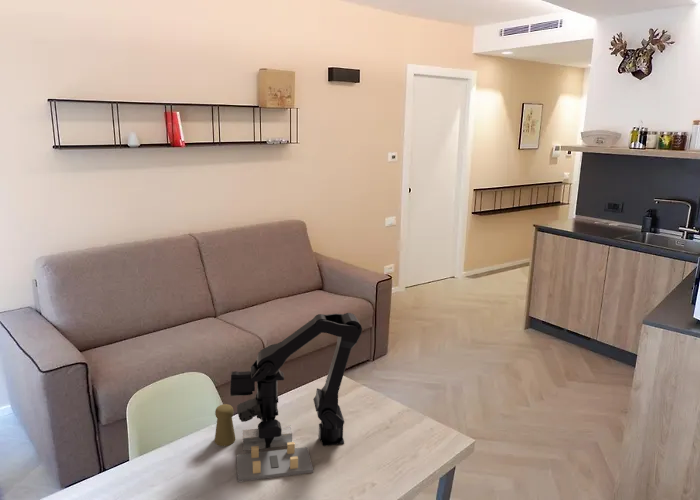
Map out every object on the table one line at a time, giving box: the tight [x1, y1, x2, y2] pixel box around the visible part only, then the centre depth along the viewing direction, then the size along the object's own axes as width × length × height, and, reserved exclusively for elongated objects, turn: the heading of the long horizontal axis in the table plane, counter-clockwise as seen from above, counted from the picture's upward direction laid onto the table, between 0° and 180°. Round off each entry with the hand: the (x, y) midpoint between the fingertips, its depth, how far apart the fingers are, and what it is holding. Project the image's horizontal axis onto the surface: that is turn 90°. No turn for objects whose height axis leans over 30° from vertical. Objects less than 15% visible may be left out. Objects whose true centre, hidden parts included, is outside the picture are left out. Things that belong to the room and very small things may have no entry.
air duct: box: [242, 425, 293, 451], centre depth 154 cm, size 14×4×4 cm, turn 104°
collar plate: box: [236, 441, 314, 483], centre depth 145 cm, size 20×10×4 cm, turn 104°
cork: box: [214, 403, 236, 447], centre depth 154 cm, size 6×6×11 cm
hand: (267, 440), depth 154 cm, fingers closed on air duct, 4 cm apart
